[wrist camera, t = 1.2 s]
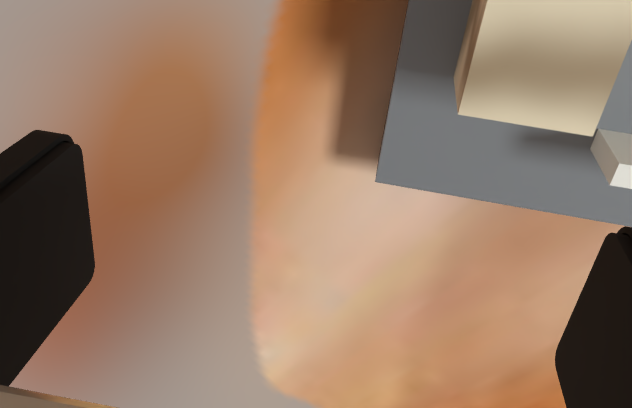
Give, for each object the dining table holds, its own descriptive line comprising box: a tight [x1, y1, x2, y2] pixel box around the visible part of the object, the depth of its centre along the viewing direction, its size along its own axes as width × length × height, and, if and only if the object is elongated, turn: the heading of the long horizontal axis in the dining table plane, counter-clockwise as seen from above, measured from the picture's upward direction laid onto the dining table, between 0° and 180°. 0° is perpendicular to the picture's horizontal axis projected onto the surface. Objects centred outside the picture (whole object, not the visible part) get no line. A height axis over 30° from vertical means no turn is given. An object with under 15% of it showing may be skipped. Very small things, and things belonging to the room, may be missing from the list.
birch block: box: [454, 0, 632, 137], centre depth 27 cm, size 6×6×5 cm
